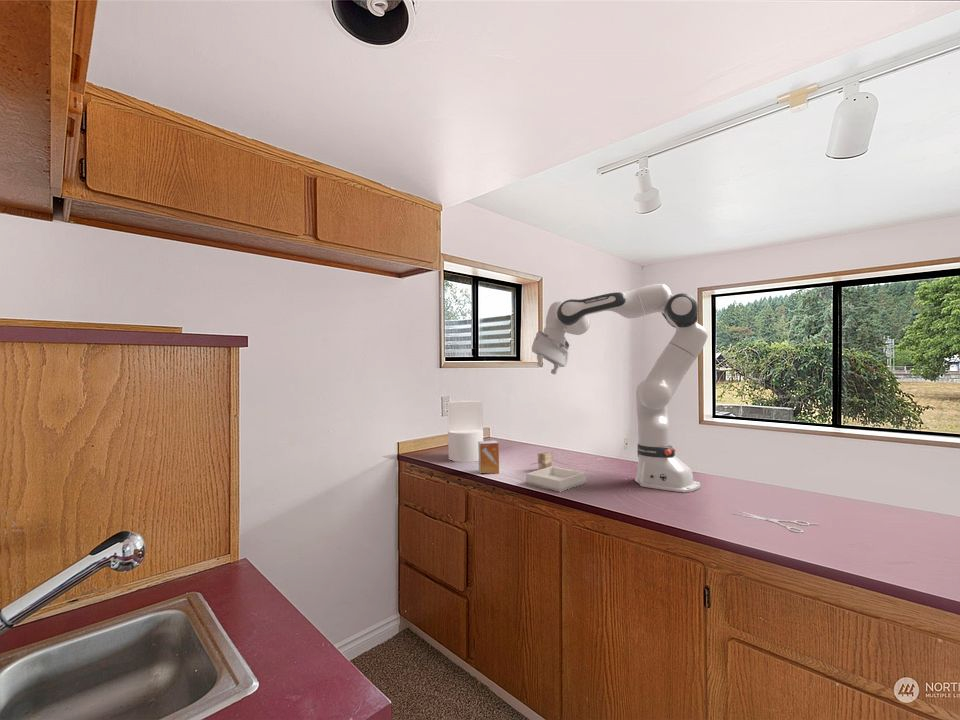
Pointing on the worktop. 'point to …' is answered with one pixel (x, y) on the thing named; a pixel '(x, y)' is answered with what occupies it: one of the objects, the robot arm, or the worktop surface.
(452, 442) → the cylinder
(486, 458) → the small box
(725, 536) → the worktop surface
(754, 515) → the scissors
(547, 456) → the beech block
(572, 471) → the bin
